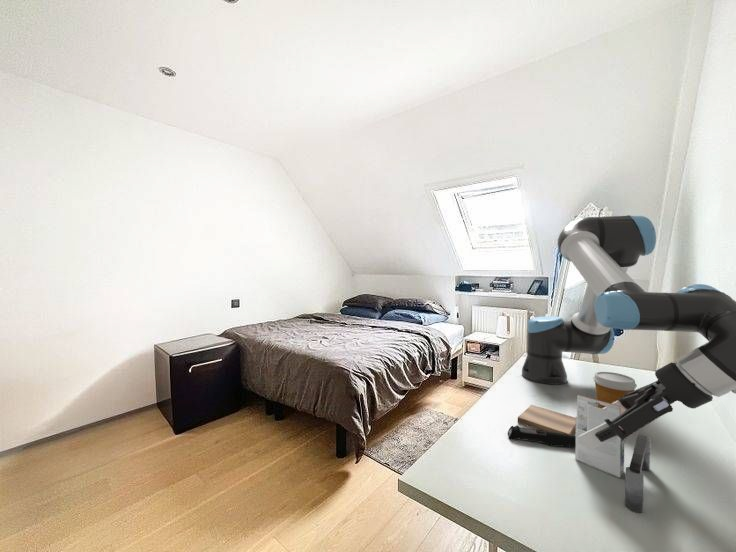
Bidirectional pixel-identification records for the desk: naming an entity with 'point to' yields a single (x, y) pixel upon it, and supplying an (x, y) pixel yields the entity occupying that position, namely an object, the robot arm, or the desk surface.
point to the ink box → (606, 454)
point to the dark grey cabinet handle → (637, 473)
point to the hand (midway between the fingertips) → (590, 430)
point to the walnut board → (547, 420)
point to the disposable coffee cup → (612, 386)
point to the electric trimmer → (541, 436)
